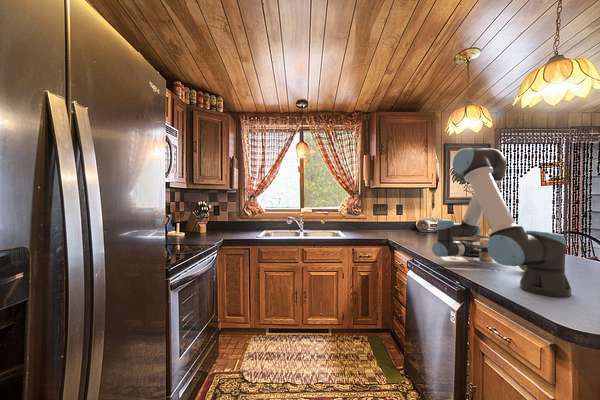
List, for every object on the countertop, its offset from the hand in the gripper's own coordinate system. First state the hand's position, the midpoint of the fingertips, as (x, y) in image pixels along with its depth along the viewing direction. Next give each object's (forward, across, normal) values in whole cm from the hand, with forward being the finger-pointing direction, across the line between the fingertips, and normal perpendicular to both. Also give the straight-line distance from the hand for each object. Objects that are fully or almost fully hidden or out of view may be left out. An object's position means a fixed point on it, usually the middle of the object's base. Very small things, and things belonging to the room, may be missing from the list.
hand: (491, 245), depth 156 cm
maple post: (-4, 0, -8) cm, 9 cm away
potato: (-1, +23, -9) cm, 25 cm away
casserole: (+5, -19, -9) cm, 22 cm away
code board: (-17, -9, -9) cm, 21 cm away
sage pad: (-4, 0, -9) cm, 10 cm away
